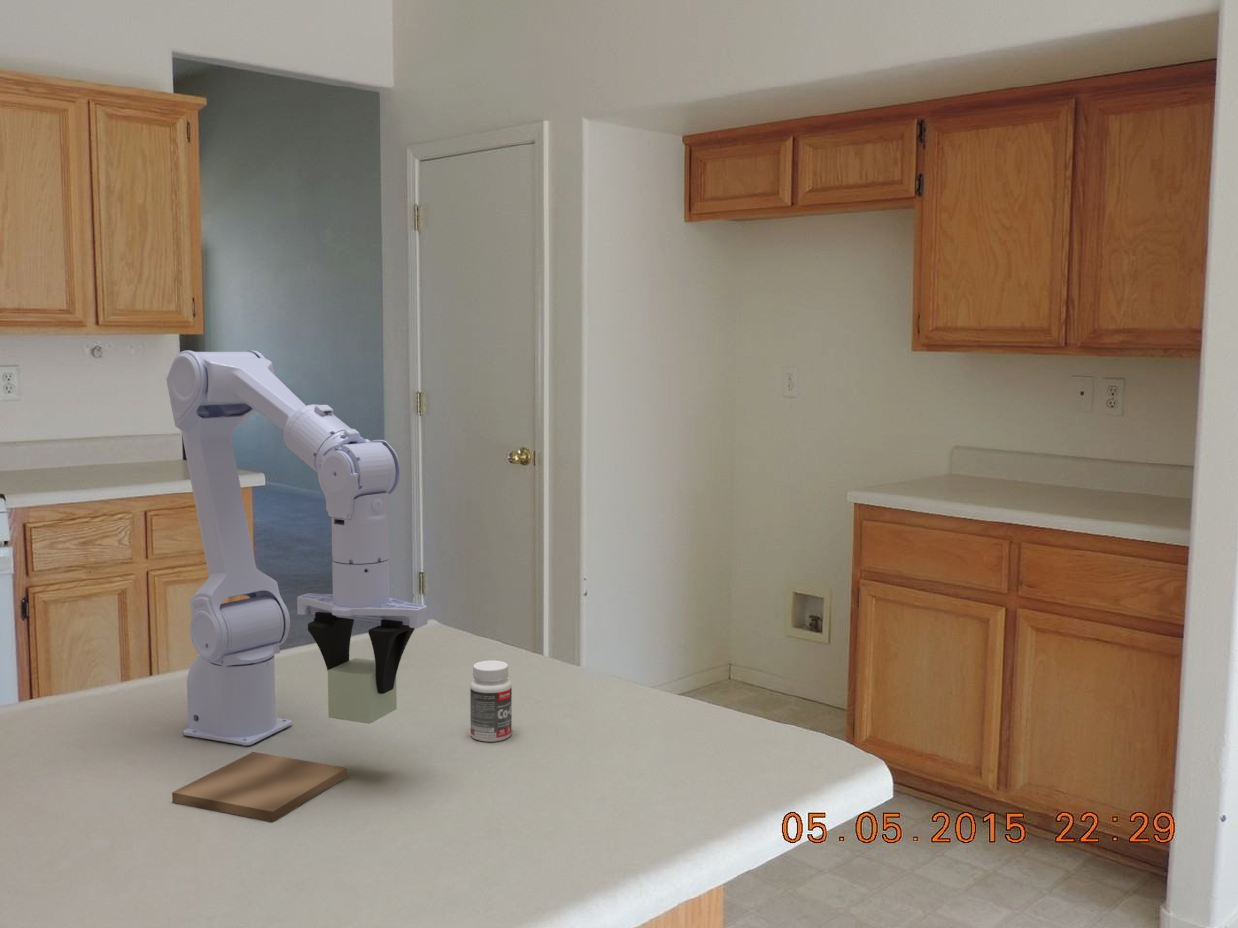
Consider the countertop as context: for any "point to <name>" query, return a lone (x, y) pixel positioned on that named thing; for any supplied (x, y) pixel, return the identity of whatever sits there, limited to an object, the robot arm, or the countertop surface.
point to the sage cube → (358, 693)
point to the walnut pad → (260, 786)
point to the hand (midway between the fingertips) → (362, 687)
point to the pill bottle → (491, 702)
